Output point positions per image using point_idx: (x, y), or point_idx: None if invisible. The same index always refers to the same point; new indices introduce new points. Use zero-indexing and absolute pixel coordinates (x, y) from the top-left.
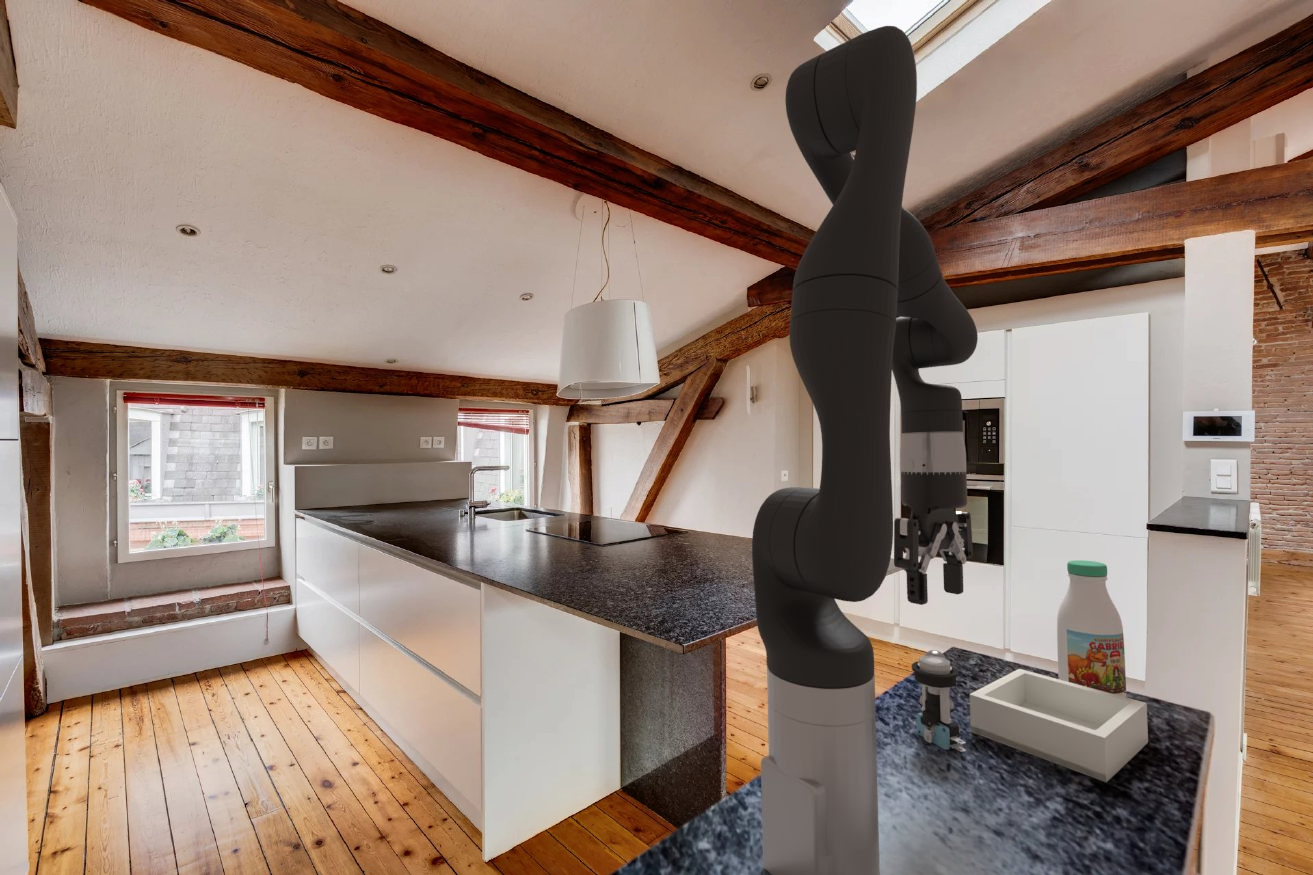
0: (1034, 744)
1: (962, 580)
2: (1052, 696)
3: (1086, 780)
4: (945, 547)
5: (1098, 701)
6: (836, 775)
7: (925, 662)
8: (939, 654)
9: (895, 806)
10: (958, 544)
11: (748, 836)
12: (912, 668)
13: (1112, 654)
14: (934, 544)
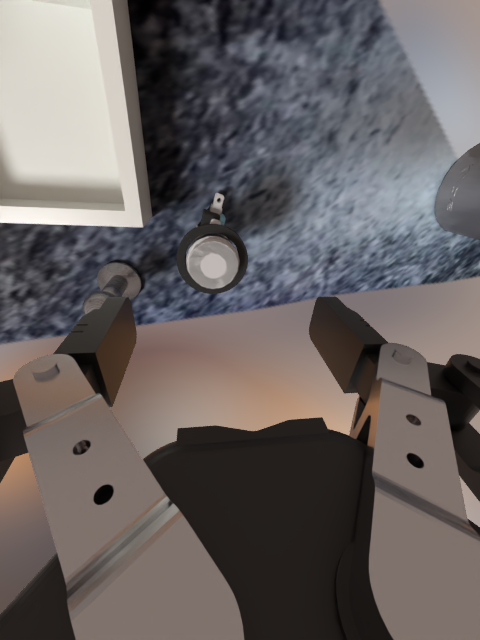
0: (138, 120)
1: (100, 315)
2: None
3: (147, 28)
4: (221, 436)
5: None
6: None
7: (234, 270)
8: (98, 306)
9: (364, 194)
10: (112, 435)
11: (461, 251)
12: (236, 283)
13: None
14: (443, 437)
